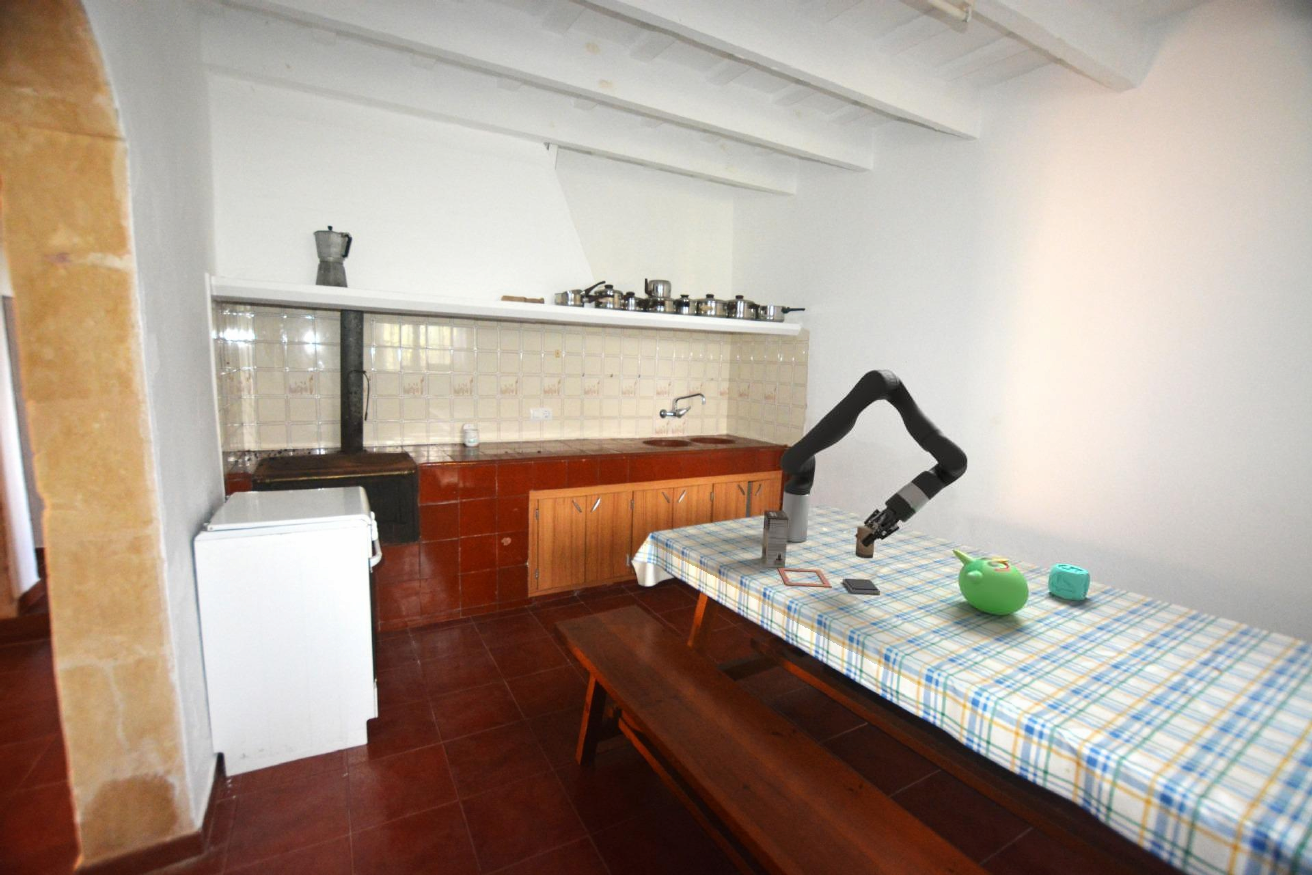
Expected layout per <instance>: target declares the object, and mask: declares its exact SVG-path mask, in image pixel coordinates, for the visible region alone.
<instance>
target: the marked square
mask: <svg viewBox="0 0 1312 875" xmlns="http://www.w3.org/2000/svg"><path fill="white" fill-rule="evenodd" d="M777 570H778V572H779V574H780V576H781V578H782V580H783V582H784V584H785V585H786V586H793V587H812V588H813V587H814V588H832V585H831V584H830V582H829V580H828V579H827V577H826V576H825V575H824V573H823V572H822V571H821V569H815V568H814V569H812V568H810V569H808V568H790V567H789V568H788V567H787V568H786V567H785V568H781V567H777ZM786 572H800V573H801V572H803V573H816V574H817V575H818V577H819V579H820V580H821V581H822V583H811V582H810V583H806V582H804V583H803V582H791V581H790V579H789V577H788V575H787V574H786Z"/></svg>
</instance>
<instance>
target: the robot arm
mask: <svg viewBox="0 0 1312 875" xmlns="http://www.w3.org/2000/svg"><path fill="white" fill-rule="evenodd" d="M877 401H887V402H888V403H889V404H890V405H891V406H893V407H894V409H895V410H896V411H897V412H898V414H899V415H900V418H901V420H902V422H903V424H904V427H905V429H906V431H907V433H908V434H909V436H911V438H913V440H914V441H915V442H916V443H917V444H918V446H919V447H920V448H921V449H922V450H924V451H925V452H926V453H929V454H930V455H931V457H932V458H934V460H935V462H937V463H936V464H935V465H934V466H932V467H931V468H930V469H928V470H924V471H922V472H920V473H919V474H918V475H917V476H915V477H914V478H913V479H912V480H911V481H910V482H908V483H907V484H905V485H904V486H902V487H901V488H900V489H899V490H898V491H897V492H895V493H894V494H893V495H892V496H891V497H889V498H888V499H887V500H885V502H884V505H885V506H886V508H884V509H882V510H881V511H880V510H879V509H878V508H876V509H875V510H874V511H872V513H871V514H870V515H869V516H868V517H867V518H866V520H864V521H863V524H864V525H863V526H868V527H872V528H874V530H873V531H872V534H871V533H870V534H869V535H867V536H866V537H865V538H864V539H863V540H862V541H861V543H862V544H863V545H864V546H865V547H868V546H869V545H870V544H871V543H873V542H874V543H875V541H877V540H881V541H883V540H885V539H887V538H888V537H889V536H891V535H892V534H894V533H896V532H897V531H899V530H900V526H899V525H898V523H899V521H900V522H902V523H906V522H908V521H909V520H910V519H911V518H912V517H913V516H914V515H916V514H917V513H918V512H919V511H920V510H922V509H923V508H924V507H925V506H926V505H927V503H929V501H931V500H932V499H933V498H934V497H935V496H936V495H938V494H939V493H940V492H941V491H942V490H943V489H945V488H947V487H948V486H949V485H952V484H953V483H955V482H956V481H957V480H960V478H961V477H962V476H963V475H964V474H965V473H966V471H967V469H968V456H967V455H966V452H964V450H963V449H962V448H961V447H960V446H959V445H958V444H957V443H956V442H955V441H953V440H952V439H951V438H949V437H948V436H947V435H945V433H944V432H943V431H942V430H941V428H939V427H938V426H937V424H936V423H934V422H933V420H932V419H931V418H930V417H929V416H928V415H927V414H926V413H925V412H924V410H923V409H922V408H921V407H920V405H919V404H918V402H917V401H916V400H915V399H914V397H913V396H912V395H911V392H910V391H909V390H908V388H907V387H906V385H905V383H904V382H903V380H902V379H901V378H900V376H899V375H898V374H897V373H896V372H895V371H892V370H890V369H873V370H869V371H868V372H866V373H865V374H864V375H862V376H861V377H860V379H859V380H858V381H857V382H856V383H855V385H854V386H853V387H852V389H851V390H850V391H849V392H848V393H847V394H846V395H845V397H844V398H842V400H840V401H839V402H838V403H837V404H836V405H835V406H834V407H832V409H831V410H830V411H829V412H827V413H826V414H825V415H824V416H823V417H822V418H821V419H820V420H819V422H818V423H816V424H815V425H814V427H812V428H811V429H810V430H809V431H808V432H807V433H806V434H805V435H804V436H803V437H802V438H801V439H800V440H799V441H798V442H795V443H794V444H793V445H792V446H790V447H789V448H788V449H786V450H785V451H784V453H782V456H781V458H780V467H781V469H782V471H783V472H784V473H785V474H788V475H792V477H791V478H790V479H789V480H788V481H787V482H785V484H784V486H783V487H784V488H783V496H782V498H783V500H782V501H783V502H782V511H784V512H785V514H786V515H787V517H788V518H789V522H788V535H787V542H792V543H802V542H803V543H804V542H806V541H807V536H808V529H809V528H808V527H809V526H808V525H809V515H810V514H809V513H810V501H811V490H812V488H813V486H814V479H815V474H816V473H815V472H816V463H817V462H816V461H817V460H816V454H818V453H820V452H822V451H824V450H827V449H828V448H830V447H832V446H834V445H835V444H838V443H839V442H840V441H841V440H842V439H844V437H846V436H847V435H848V434H849V433H850V432H851V431H852V430H853V428H854V427H855V425H856V422H857V421H858V418H859V416H860V415H861V413H862V412H863V411H864V410H865V409H867V408H868V407H869V406H870V405H871V404H873V403H874V402H877ZM854 537H855V538H856V539H857V533H856V534H855V535H854Z"/></svg>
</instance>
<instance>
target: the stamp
mask: <svg viewBox="0 0 1312 875" xmlns="http://www.w3.org/2000/svg"><path fill="white" fill-rule="evenodd" d="M873 530H874V528H872V527H868V526H864V525H860V526H857V531H856V534H857V538H856V543H855V553H854V554H855V556H856V557H857V558H861V559H865V560H866V559H867V560H868V559H873V558H874V551H875V541H874V542H873V543H871V544H870V545H869V546H868V547H865V546H864V545H863V544H862V543H861V541H862V540H863V539H864V538H865V537H866V536H867V535H869V534H870V533H871V534H872V531H873Z"/></svg>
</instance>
